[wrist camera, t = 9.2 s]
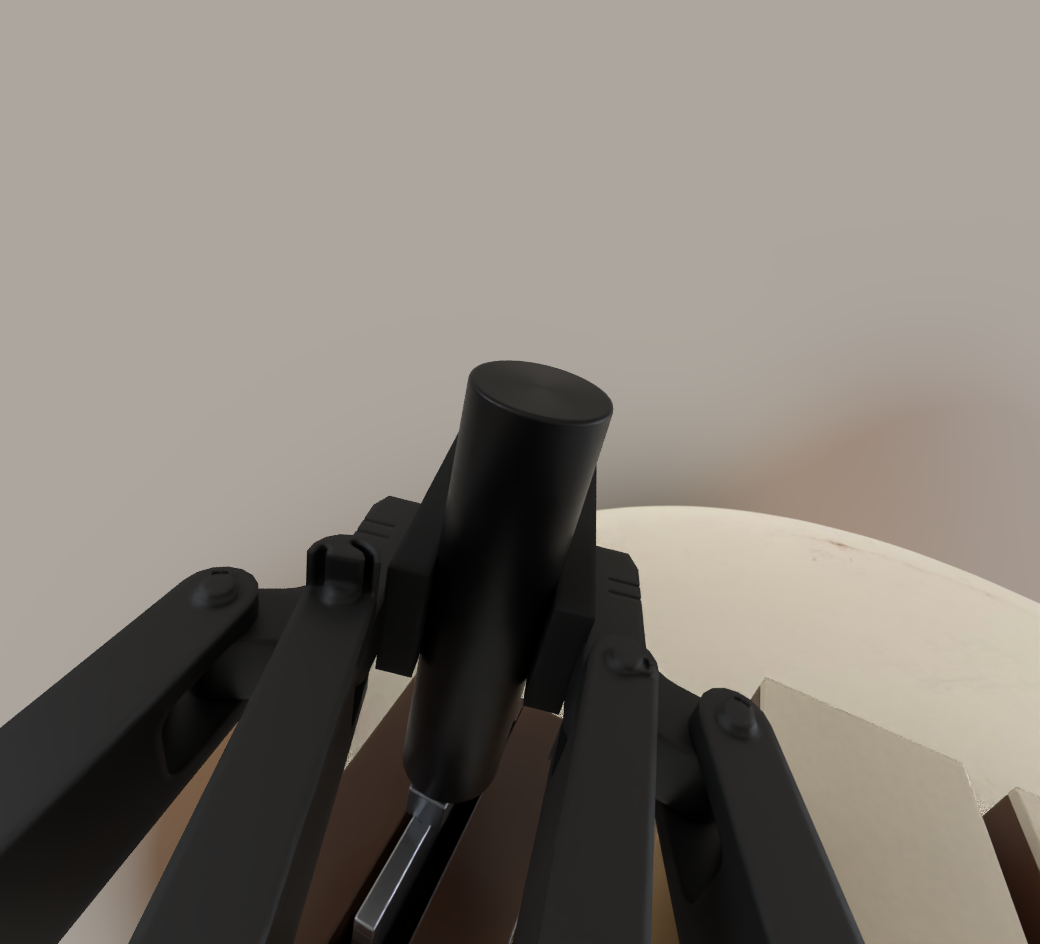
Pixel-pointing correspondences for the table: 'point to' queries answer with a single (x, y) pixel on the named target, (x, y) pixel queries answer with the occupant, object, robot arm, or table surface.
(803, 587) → the table surface
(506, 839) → the knife block
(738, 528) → the table surface
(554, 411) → the knife
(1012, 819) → the cake slice
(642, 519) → the table surface
